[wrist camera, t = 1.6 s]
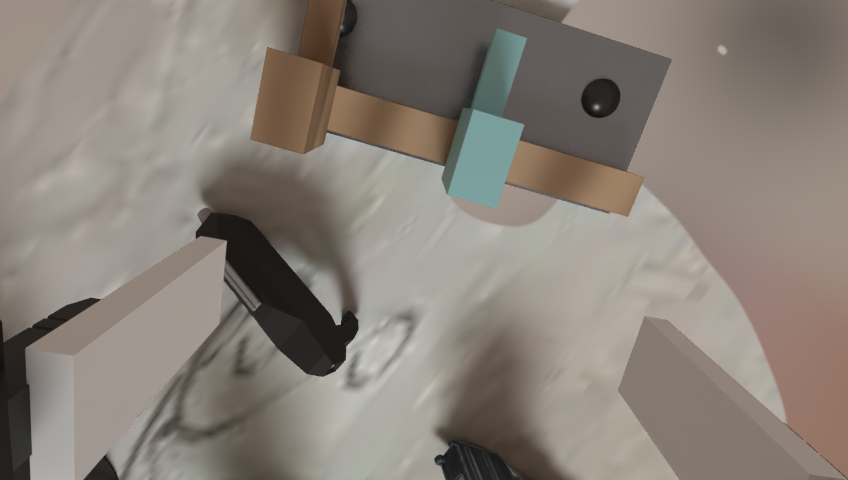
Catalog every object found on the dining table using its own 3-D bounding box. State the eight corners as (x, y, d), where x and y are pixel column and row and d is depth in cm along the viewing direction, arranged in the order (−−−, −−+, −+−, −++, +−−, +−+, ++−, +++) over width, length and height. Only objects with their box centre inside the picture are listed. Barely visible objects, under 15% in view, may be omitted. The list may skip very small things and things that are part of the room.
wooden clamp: (284, 127, 36) (241, 136, 27) (314, -18, 33) (276, -62, 24) (606, 219, 38) (666, 256, 29) (658, 92, 35) (742, 90, 26)
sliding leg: (439, 171, 37) (447, 194, 28) (479, 35, 34) (503, 12, 25) (476, 182, 37) (496, 208, 28) (519, 47, 34) (556, 29, 25)
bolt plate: (290, 120, 37) (285, 120, 35) (324, -50, 33) (321, -56, 32) (603, 210, 39) (610, 214, 38) (663, 60, 36) (673, 59, 35)
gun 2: (273, 209, 44) (188, 195, 35) (387, 338, 40) (325, 362, 31) (255, 231, 45) (166, 223, 35) (366, 361, 41) (298, 392, 31)
